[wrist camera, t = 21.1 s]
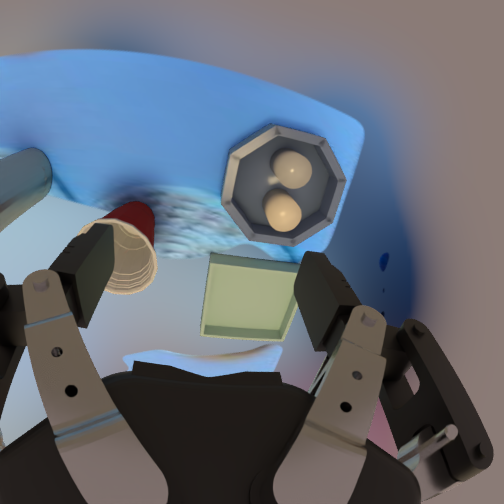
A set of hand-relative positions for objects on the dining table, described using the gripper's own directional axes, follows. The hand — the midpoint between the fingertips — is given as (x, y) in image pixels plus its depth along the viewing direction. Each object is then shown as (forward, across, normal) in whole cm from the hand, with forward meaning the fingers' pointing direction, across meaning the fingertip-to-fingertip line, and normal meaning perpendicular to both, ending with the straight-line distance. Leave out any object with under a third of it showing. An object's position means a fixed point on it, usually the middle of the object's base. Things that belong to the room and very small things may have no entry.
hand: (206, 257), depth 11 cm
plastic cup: (+28, +10, +12) cm, 32 cm away
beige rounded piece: (+27, -10, 0) cm, 29 cm away
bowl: (+28, -10, +3) cm, 30 cm away
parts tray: (+28, -10, +24) cm, 38 cm away
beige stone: (+27, -10, +6) cm, 30 cm away
